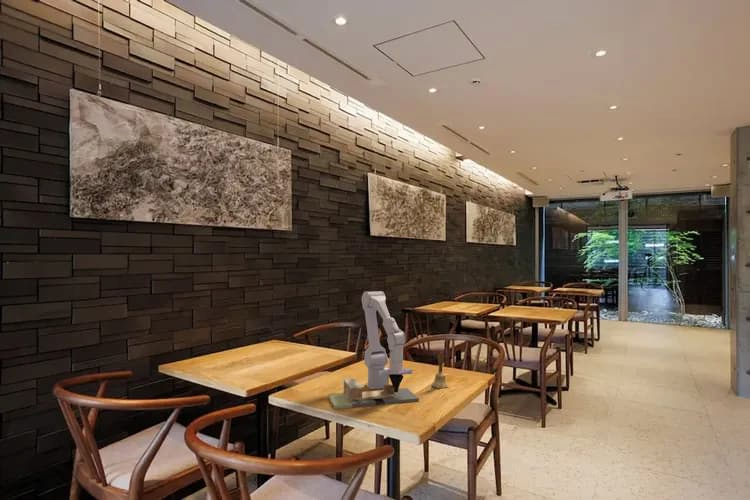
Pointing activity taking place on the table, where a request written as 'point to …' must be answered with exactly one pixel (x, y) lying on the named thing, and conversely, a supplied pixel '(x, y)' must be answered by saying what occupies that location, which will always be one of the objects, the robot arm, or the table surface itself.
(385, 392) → the sled
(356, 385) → the tunnel
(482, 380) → the table surface
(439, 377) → the hand bell
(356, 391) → the block
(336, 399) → the board
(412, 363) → the table surface
